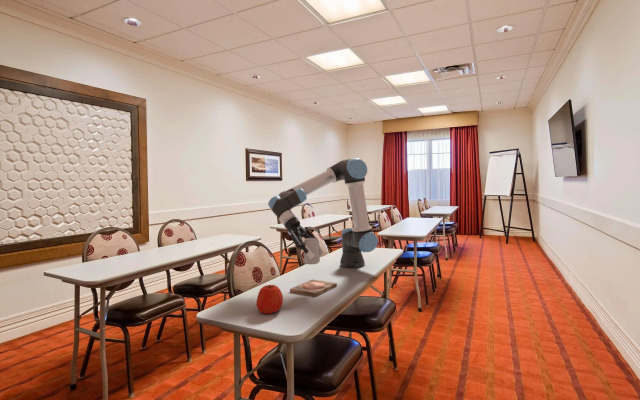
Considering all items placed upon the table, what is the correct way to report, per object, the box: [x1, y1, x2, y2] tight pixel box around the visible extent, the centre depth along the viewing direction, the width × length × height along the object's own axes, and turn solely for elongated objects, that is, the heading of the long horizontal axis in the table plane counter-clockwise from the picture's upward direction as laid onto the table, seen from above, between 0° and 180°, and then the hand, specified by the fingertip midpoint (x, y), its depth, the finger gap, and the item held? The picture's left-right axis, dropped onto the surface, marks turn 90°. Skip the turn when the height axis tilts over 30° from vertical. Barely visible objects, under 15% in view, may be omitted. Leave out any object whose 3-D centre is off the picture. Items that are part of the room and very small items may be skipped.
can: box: [303, 237, 321, 265], centre depth 165 cm, size 8×8×12 cm
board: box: [289, 279, 338, 297], centre depth 166 cm, size 18×15×2 cm
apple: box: [256, 284, 284, 315], centre depth 138 cm, size 11×11×11 cm
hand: (317, 255), depth 163 cm, fingers closed on can, 7 cm apart
